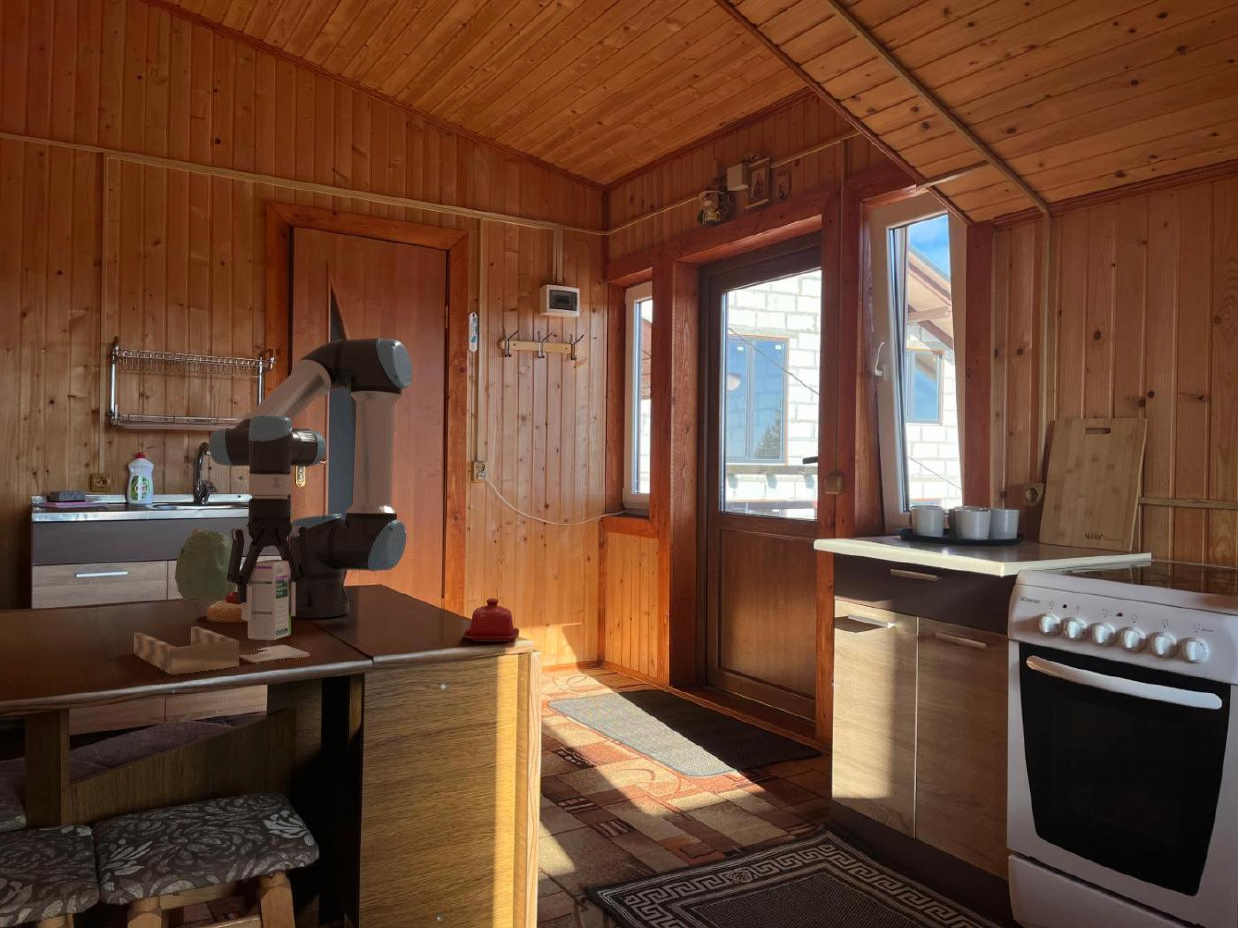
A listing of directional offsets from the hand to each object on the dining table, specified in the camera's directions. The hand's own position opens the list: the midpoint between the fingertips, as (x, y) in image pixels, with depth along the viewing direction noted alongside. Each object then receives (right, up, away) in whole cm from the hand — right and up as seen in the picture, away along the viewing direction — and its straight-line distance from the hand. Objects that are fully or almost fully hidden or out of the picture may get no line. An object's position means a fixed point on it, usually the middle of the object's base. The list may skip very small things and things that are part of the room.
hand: (268, 617), depth 178 cm
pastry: (-20, -8, +34) cm, 40 cm away
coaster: (0, -7, 0) cm, 7 cm away
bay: (-13, -7, -7) cm, 16 cm away
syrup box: (0, -4, 0) cm, 4 cm away
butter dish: (+39, -8, +22) cm, 46 cm away
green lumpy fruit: (-38, -8, +60) cm, 72 cm away
